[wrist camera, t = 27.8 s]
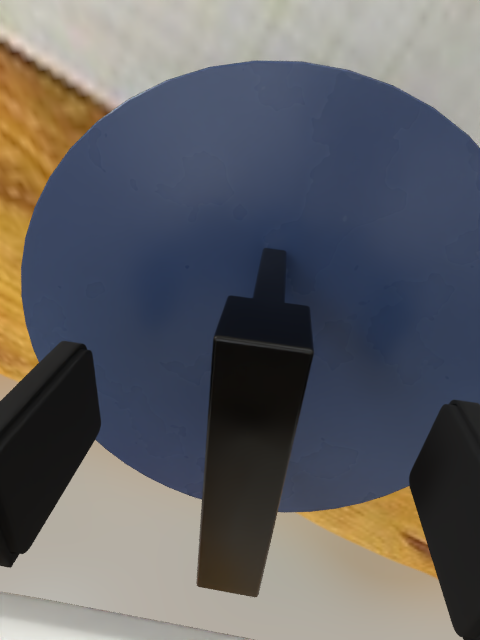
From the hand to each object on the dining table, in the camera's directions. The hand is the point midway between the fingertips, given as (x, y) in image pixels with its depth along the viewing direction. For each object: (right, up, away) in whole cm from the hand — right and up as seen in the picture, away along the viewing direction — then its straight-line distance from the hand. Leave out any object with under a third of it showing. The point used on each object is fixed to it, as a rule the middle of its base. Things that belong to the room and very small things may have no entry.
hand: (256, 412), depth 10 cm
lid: (0, +1, +3) cm, 3 cm away
